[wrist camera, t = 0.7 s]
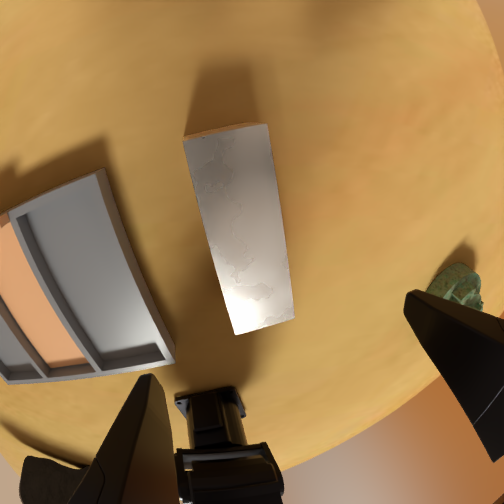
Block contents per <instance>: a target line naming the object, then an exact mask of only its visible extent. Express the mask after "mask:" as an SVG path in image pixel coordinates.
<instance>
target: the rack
mask: <svg viewBox="0 0 504 504" xmlns="http://www.w3.org/2000/svg"><path fill="white" fill-rule="evenodd" d="M174 363H176V359H175V345H174V343H173V341H172V339H171V337H170V335H169V333H168V331H167V329H166V327H165V324H164V322H163V320H162V318H161V316H160V314H159V312H158V310H157V307H156V305H155V303H154V301H153V299H152V296H151V294H150V292H149V289H148V287H147V285H146V283H145V280H144V278H143V275H142V273H141V271H140V268H139V266H138V263H137V261H136V258H135V256H134V253H133V251H132V248H131V245H130V243H129V240H128V237H127V235H126V232H125V229H124V226H123V224H122V221H121V218H120V215H119V212H118V209H117V206H116V203H115V200H114V197H113V194H112V191H111V188H110V184H109V181H108V178H107V174H106V171H105V167H104V168H102V169H99V170H96V171H94V172H91V173H88V174H86V175H83V176H81V177H78V178H76V179H73V180H71V181H68V182H66V183H64V184H61V185H59V186H57V187H54V188H52V189H50V190H47V191H45V192H43V193H41V194H39V195H37V196H34V197H32V198H30V199H28V200H26V201H24V202H22V203H20V204H18V205H16V206H14V207H12V208H10V209H8V210H6V211H5V212H3V213H1V214H0V376H1V377H2V378H3V379H4V381H5V382H6V383H7V384H8V385H10V384H31V383H45V382H57V381H67V380H76V379H85V378H93V377H100V376H107V375H114V374H120V373H126V372H132V371H138V370H144V369H149V368H154V367H160V366H165V365H170V364H174Z"/></svg>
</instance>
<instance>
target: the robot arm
mask: <svg viewBox="0 0 504 504" xmlns="http://www.w3.org/2000/svg"><path fill="white" fill-rule="evenodd" d="M403 311H404V315H405V317H406V319H407V321H408V322H409V324H410V326H411V328H412V329H413V331H414V333H415V335H416V337H417V338H418V340H419V342H420V344H421V345H422V347H423V348H424V350H425V352H426V353H427V354H428V356H429V357H430V359H431V360H432V362H433V363H434V365H435V366H436V368H437V369H438V371H439V372H440V374H441V375H442V377H443V378H444V380H445V381H446V383H447V384H448V386H449V387H450V389H451V390H452V392H453V394H454V395H455V397H456V398H457V400H458V402H459V403H460V405H461V407H462V408H463V410H464V412H465V413H466V415H467V416H468V418H469V420H470V422H471V423H472V425H473V427H474V429H475V431H476V432H477V434H478V436H479V438H480V440H481V441H482V443H483V445H484V447H485V449H486V451H487V453H488V455H489V457H490V458H491V460H492V461H493V462H495V461H497V460H498V459H499V458H500V457H502V456H503V455H504V319H501V318H498V317H495V316H493V315H490V314H487V313H484V312H481V311H479V310H476V309H473V308H470V307H467V306H464V305H461V304H459V303H456V302H453V301H450V300H447V299H444V298H441V297H438V296H435V295H432V294H429V293H427V292H424V291H421V290H417V289H415V290H412V291H410V292H408V293H407V294H406V298H405V304H404V309H403ZM174 402H175V405H176V406H177V408H178V409H179V410H180V412H181V413H182V414H183V416H184V417H185V418H186V419H187V427H188V436H189V444H190V449H182V448H176V450H177V453H175V454H174V451H173V440H172V431H171V426H170V420H169V415H168V410H167V404H166V398H165V393H164V390H163V387H162V386H161V384H160V383H159V382H158V380H157V379H156V377H155V376H154V375H153V374H152V373H149V374H144V375H141V376H140V377H139V378H138V380H137V382H136V384H135V385H134V387H133V389H132V391H131V392H130V394H129V396H128V398H127V400H126V401H125V403H124V405H123V407H122V408H121V410H120V412H119V414H118V416H117V417H116V419H115V421H114V423H113V425H112V426H111V428H110V430H109V432H108V434H107V436H106V437H105V439H104V441H103V443H102V445H101V447H100V449H99V451H98V452H97V454H96V458H94V460H93V462H92V464H91V465H90V467H89V469H88V471H87V473H86V474H85V476H84V478H83V480H82V481H81V483H80V484H79V486H78V488H77V489H76V491H75V492H74V494H73V495H72V497H71V498H70V500H69V501H68V503H67V504H180V501H183V504H283V502H282V499H281V496H282V495H283V493H284V482H283V477H282V474H281V471H280V469H279V467H278V465H277V463H276V461H275V459H274V457H273V455H272V453H271V451H270V449H269V447H268V445H267V443H266V442H261V443H260V444H252V445H248V444H247V440H246V436H245V432H244V428H243V424H242V420H241V418H244V417H246V413H245V410H244V408H243V406H242V403H241V401H240V399H239V396H238V394H237V391H236V389H235V387H232V386H230V387H226V388H221V389H217V390H213V391H208V392H204V393H199V394H194V395H189V396H184V397H179V398H175V400H174ZM185 469H192V471H185ZM179 497H180V501H179ZM493 504H504V494H503V495H502V496H501V497H500V498H498V499H497V500H496V501H495V502H494V503H493Z"/></svg>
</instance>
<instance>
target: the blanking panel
mask: <svg viewBox="0 0 504 504" xmlns="http://www.w3.org/2000/svg"><path fill="white" fill-rule="evenodd" d="M183 145H184V149H185V154H186V158H187V162H188V166H189V170H190V174H191V178H192V182H193V186H194V190H195V194H196V198H197V202H198V206H199V210H200V214H201V217H202V221H203V225H204V229H205V232H206V236H207V240H208V243H209V247H210V251H211V254H212V258H213V261H214V265H215V269H216V272H217V276H218V279H219V282H220V286H221V289H222V293H223V296H224V300H225V303H226V306H227V310H228V313H229V316H230V319H231V323H232V326H233V329H234V332H235V335H239V334H243V333H246V332H250V331H253V330H257V329H260V328H264V327H267V326H271V325H274V324H278V323H281V322H284V321H287V320H291V319H294V318H295V315H294V306H293V297H292V289H291V281H290V273H289V265H288V257H287V250H286V242H285V235H284V228H283V221H282V214H281V207H280V200H279V194H278V187H277V180H276V174H275V168H274V162H273V155H272V149H271V143H270V138H269V132H268V126H267V123H256V122H246V123H240V124H235V125H230V126H225V127H221V128H216V129H212V130H207V131H203V132H199V133H195V134H191V135H187V136H184V138H183Z"/></svg>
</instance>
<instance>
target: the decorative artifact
mask: <svg viewBox="0 0 504 504" xmlns="http://www.w3.org/2000/svg"><path fill="white" fill-rule="evenodd" d="M480 288H481V280H480V277H479V275H478V274H477V273H475V272H474V271H473V270H471V269H470V268H469V267H467V266H466V265H465V264H463V263H456V264H453V265H451V266H449V267H448V268H446V269H445V270H444V271H443V272H441V273H440V274H439V275H438V276H437V277H436V279H435V280H434V281H433V282H432V283H431V285H430V286H429V288H428V289H427V291H426V292H427V293H429V294H432V295H435V296H438V297H441V298H444V299H447V300H450V301H453V302H456V303H459V304H461V305H464V306H467V307H470V308H473V309H476V310H479V311H481V312H482V310H483V307H482V306H483V302H482V301H481V296H480V294H479V292H480Z"/></svg>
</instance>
